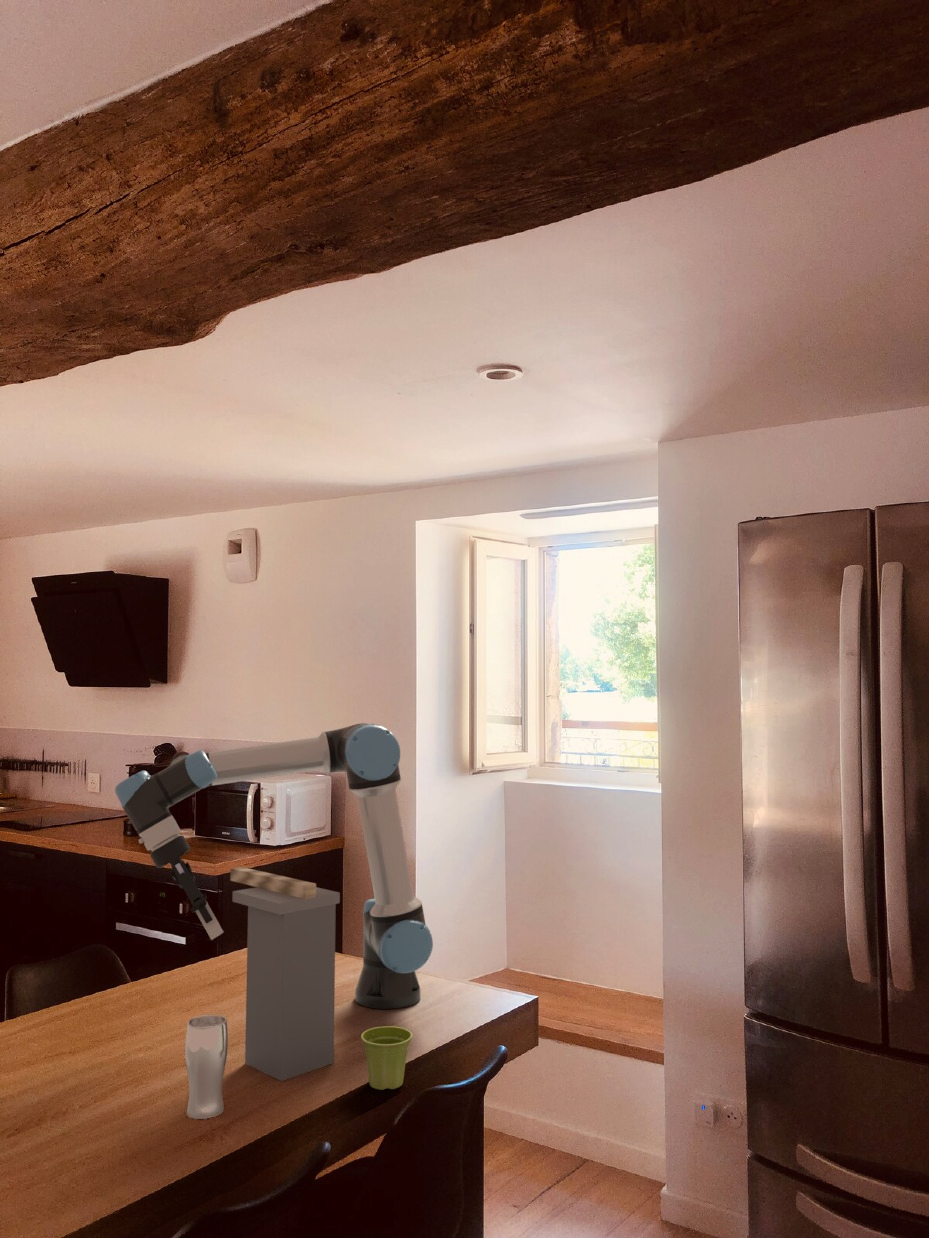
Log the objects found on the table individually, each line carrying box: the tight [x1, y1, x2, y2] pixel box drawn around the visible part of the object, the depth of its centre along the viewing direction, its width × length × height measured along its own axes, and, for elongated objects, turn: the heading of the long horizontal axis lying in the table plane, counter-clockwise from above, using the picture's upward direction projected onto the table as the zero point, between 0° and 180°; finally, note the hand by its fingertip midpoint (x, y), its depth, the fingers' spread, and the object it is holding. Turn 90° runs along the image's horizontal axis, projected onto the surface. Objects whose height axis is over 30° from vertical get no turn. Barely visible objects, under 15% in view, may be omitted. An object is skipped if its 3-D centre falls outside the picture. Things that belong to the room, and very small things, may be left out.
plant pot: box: [360, 1025, 413, 1091], centre depth 175 cm, size 9×9×9 cm
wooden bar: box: [229, 866, 317, 899], centre depth 192 cm, size 26×2×2 cm, turn 46°
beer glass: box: [184, 1014, 229, 1120], centre depth 164 cm, size 7×7×15 cm
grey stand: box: [231, 886, 341, 1082], centre depth 187 cm, size 16×14×32 cm
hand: (216, 932), depth 199 cm, fingers open, 13 cm apart
